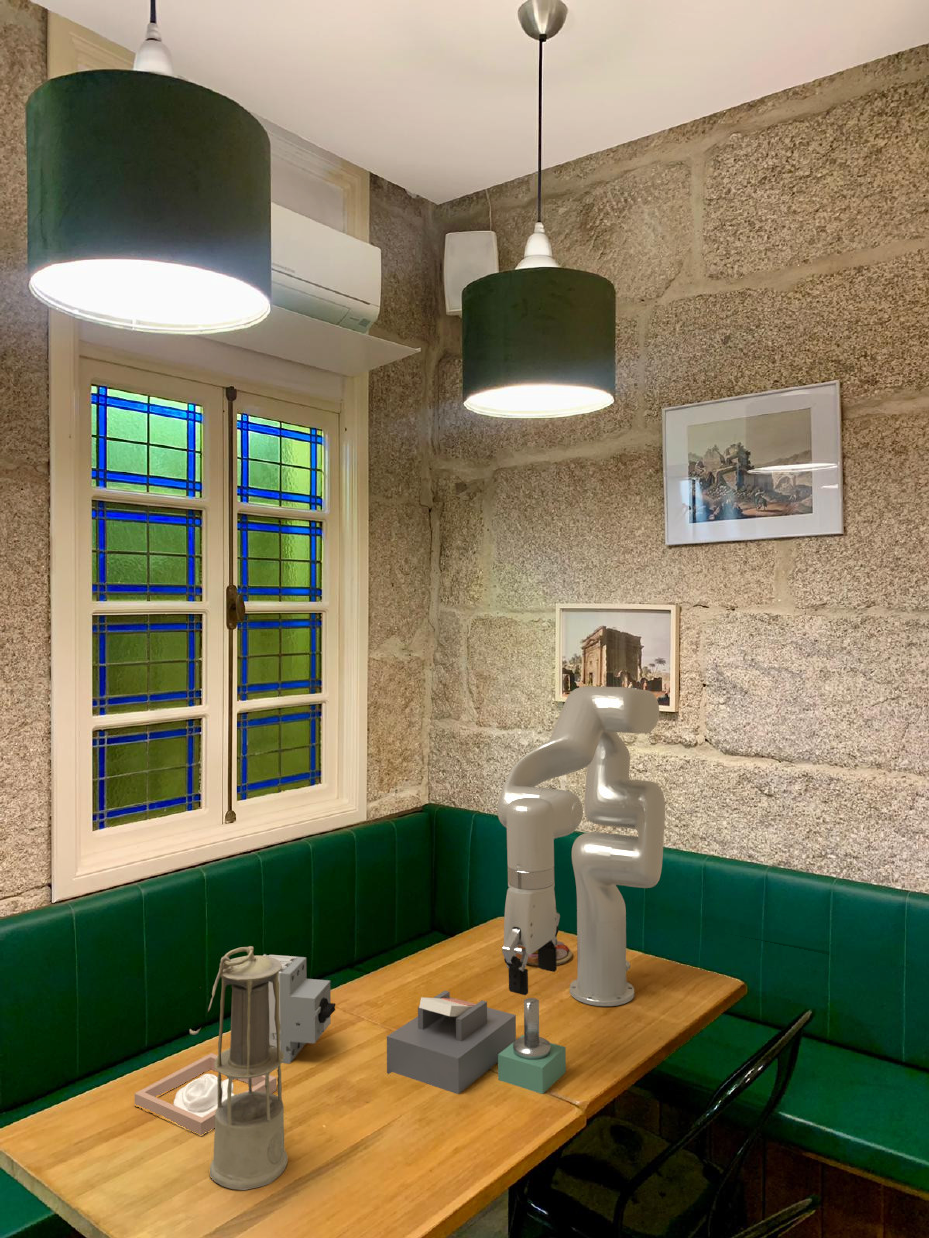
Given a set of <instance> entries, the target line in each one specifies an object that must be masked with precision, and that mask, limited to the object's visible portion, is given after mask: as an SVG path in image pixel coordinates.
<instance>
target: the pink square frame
mask: <svg viewBox="0 0 929 1238" xmlns="http://www.w3.org/2000/svg"><path fill="white" fill-rule="evenodd" d="M217 1056H218V1054H214V1053H212V1052H210V1053H209V1054H207V1055H204V1056H202V1058H201V1057H200V1058H199V1059H198V1060H194V1061H193V1062H191V1063H189V1064H188V1065H186V1066H184V1067H181V1068H180V1069H179V1070H175V1071H174V1072H173V1073H170V1074H169V1075H166V1076H165V1077H163V1078H161V1079H159V1080H158V1081H156V1082H154V1083H151V1084H150V1085H148V1086H146V1087H144V1088H142V1089H140V1090H138V1091H136V1092H134V1105H135V1104H136V1105H139V1106H141V1107H143V1108H145V1109H149V1110H150V1111H152V1112H155V1113H156V1114H159V1115H162V1116H164V1117H165V1118H167V1119H170V1120H171V1121H173V1122H176V1123H177V1124H178V1125H180V1126H183V1127H185V1128H186V1129H189V1130H191V1131H193V1132H196V1133H198V1134H200V1135H202V1134H204V1133H205V1132H208V1131H210V1130H211V1129H213V1130H215V1129H214V1128H215V1112H216V1109H215V1110H214V1111H212V1112H210V1113H209V1114H207V1115H205V1116H204V1117H200V1116H197V1115H195V1114H193V1113H191V1112H188V1111H186V1110H184V1109H181V1108H179V1107H177V1106H174V1104H172V1103H169V1102H168V1101H165V1100H163V1099H160V1098H156V1096H157V1095H161V1094H162V1093H164V1092H166V1091H169V1090H171V1089H172V1088H175V1089H177V1088H179V1087H180V1086H179V1085H181V1086H183V1085H185V1084H186V1083H187V1082H186V1081H188V1082H190V1081H191V1079H192V1078H194V1079H195V1077H196V1076H197V1077H199V1076H200V1075H199V1074H201V1075H203V1074H204V1073H203V1072H205V1071H207V1072H209V1071H210V1070H212V1071H215V1072H217V1070H216V1068H215V1065H214V1063H215V1060H216V1058H217ZM202 1073H203V1074H202ZM205 1073H206V1072H205ZM198 1075H199V1076H198ZM197 1077H196V1078H197ZM265 1077H266V1076H265V1075H263V1076H259V1077H255V1078H252V1091H261V1092H266V1088H265ZM189 1080H190V1081H189ZM192 1080H193V1079H192ZM237 1081H241V1082H242V1081H244V1082H243V1083H245V1082H246V1083H245V1084H247V1085H248V1079H238V1080H237ZM185 1082H186V1083H185ZM184 1083H185V1084H184ZM182 1084H183V1085H182ZM178 1086H179V1087H178ZM176 1087H177V1088H176ZM276 1091H277V1077H276V1076H274V1075H271V1074H269V1093H271V1094H273V1093H274V1092H276ZM245 1092H249V1089H247V1090H245ZM211 1131H212V1130H211ZM211 1131H210V1132H211ZM208 1133H209V1132H208Z"/></svg>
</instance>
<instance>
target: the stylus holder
mask: <svg viewBox="0 0 929 1238" xmlns="http://www.w3.org/2000/svg"><path fill="white" fill-rule="evenodd" d="M520 1037H524V1034H522V1035H521V1036H520ZM520 1037H518V1038H520ZM513 1043H514V1042H513ZM513 1043H512V1044H511V1045H509V1046H508V1047H507V1048H506V1049H504V1050H503V1051H502V1052H501V1053H499V1054H498V1062H497V1067H498V1068H497V1072H498V1073H497V1077H498V1079H497V1080H498V1081H500V1082H503V1083H507V1084H510V1085H513V1086H516V1087H519V1088H522V1089H524V1090H528V1091H531V1092H535V1093H538V1094H541V1095H544V1094H545V1093H546V1091H548V1090H549V1089H550V1088H551V1087H552V1086H553V1085H554V1084H555V1083H556V1082H557V1081H558V1080H559V1079H561V1077H562V1076H564V1074H565V1073H566V1071H567V1070H566V1068H567V1063H566V1062H567V1057H566V1054H567V1053H566V1052H567V1051H566V1046H563V1045H560V1044H557V1043H552V1042H550V1050H551V1051H550V1054H549V1055H548V1056H547V1057H545V1058H543V1059H539V1060H527V1059H523V1058H520V1057H518V1056H516V1055H515V1054H514V1052H513Z"/></svg>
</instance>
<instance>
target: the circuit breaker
mask: <svg viewBox="0 0 929 1238" xmlns="http://www.w3.org/2000/svg"><path fill="white" fill-rule="evenodd" d="M262 956H268V957H272V958H275V959H277V960H279V961H280V962H281V965H282V968H281V970H280V971H279V975H278V982H279V1022H280V1027H281V1028H280V1050H282V1052H283V1054H284V1060H283V1062H282V1063H281V1064H289V1065H290V1064H291V1063H292V1062H293V1061H294V1059H295V1058H296V1057H297V1055H298V1053H300V1051H301V1050H302V1049H303V1048H304V1046H305V1045H306V1044H315V1043H316V1042H317V1041H318V1040H319V1039H320V1037H322V1035H323V1033H324V1032H325V1031H326V1030H327V1029H328V1027H329V1025H330V1024H331V1020H332V1019H331V1016H332V1014H333V1013H334V1012H336V1003H332V1002H331V1001H332V1000H331V980H328V979H326V980H325V979H316V978H315V979H313V978H307V957H304V956H294V955H293V956H292V955H291V956H290V955H281V954H280V955H279V954H278V955H277V954H269V955H267V954H266V953H264V954H263V955H262ZM268 985H269V1022H270V1034H269V1043H270V1045H272V1046H275V1047H277V1033H276V1026H275V1018H274V1016H275V996H274V990H273V983H272V982H270V981H269V984H268ZM272 1048H274V1047H272Z"/></svg>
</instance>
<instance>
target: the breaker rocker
mask: <svg viewBox="0 0 929 1238" xmlns="http://www.w3.org/2000/svg"><path fill="white" fill-rule="evenodd" d="M476 1004H477V1003H474V1002H469V1001H467V1000H463V999H459V998H454V999H449V998H442V999H440V998H434V997H420V1002H419V1006H418V1007H419V1008H422V1009H426V1010H429V1011H433V1012H436V1013H440V1014H443V1015H447V1016H457V1017H458V1016H460V1015H461V1014H463V1013H464V1012H466V1011H467V1010H469V1009H470V1008H471V1007H473V1006H474V1005H476Z"/></svg>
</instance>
